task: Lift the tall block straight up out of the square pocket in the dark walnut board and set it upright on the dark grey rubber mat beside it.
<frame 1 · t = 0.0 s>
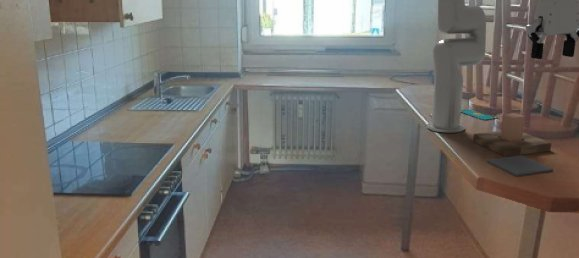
hand: (552, 57, 128), 31 cm above the countertop, tool pointing down, fingers open, 9 cm apart
pocket board: (510, 145, 158), on the countertop
block: (511, 130, 157), in the pocket board
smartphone: (477, 116, 195), on the countertop
mat: (518, 166, 141), on the countertop
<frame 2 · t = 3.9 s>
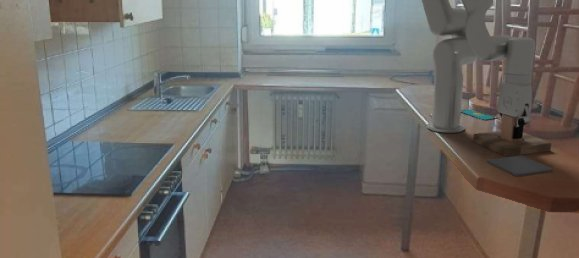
hand: (511, 135, 157), 3 cm above the countertop, tool pointing down, fingers closed on block, 4 cm apart
block: (512, 130, 157), in the pocket board, touching gripper
everything else where it was.
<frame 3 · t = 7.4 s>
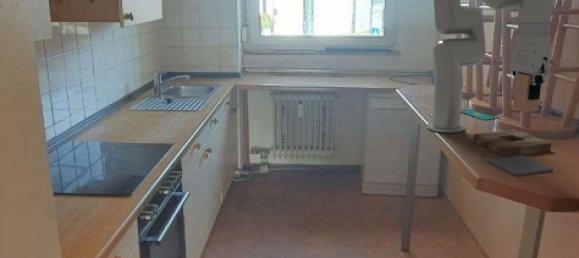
hand: (526, 96, 136), 20 cm above the countertop, tool pointing down, fingers closed on block, 4 cm apart
block: (527, 91, 136), point 21 cm above the countertop, touching gripper
everything else where it was.
when the fingers open (5 cm above the countertop, at t = 11.0 s): block drops 1 cm, resting on mat.
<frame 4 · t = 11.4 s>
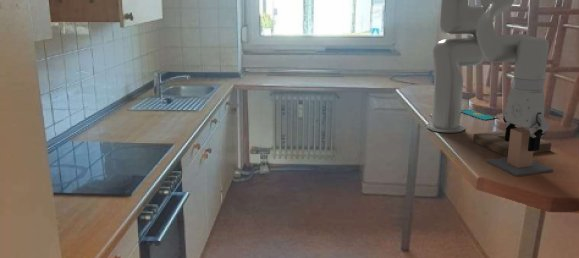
hand: (521, 145, 139), 6 cm above the countertop, tool pointing down, fingers open, 8 cm apart
block: (521, 147, 139), on the mat, point 6 cm above the countertop
everything else where it was.
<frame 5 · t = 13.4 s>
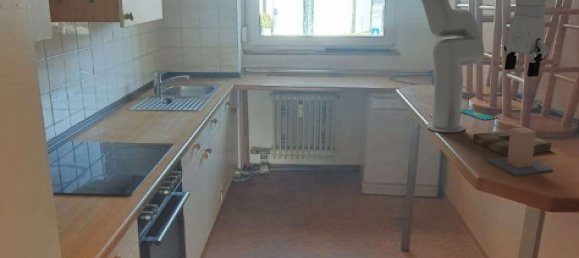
hand: (520, 72, 143), 25 cm above the countertop, tool pointing down, fingers open, 9 cm apart
nothing on the countertop moved.
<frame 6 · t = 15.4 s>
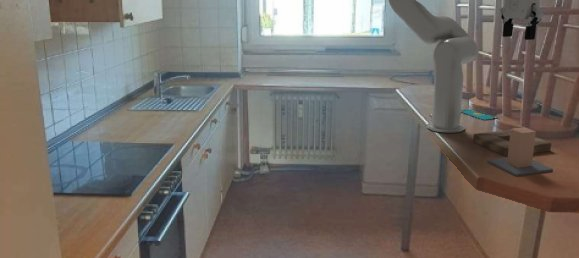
hand: (518, 38, 153), 33 cm above the countertop, tool pointing down, fingers open, 9 cm apart
nothing on the countertop moved.
at the end: block inside the target area on the mat (0.1 cm from its centre), point 5.6 cm above the mat's base; block tilted 0°; the gripper is holding nothing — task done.
